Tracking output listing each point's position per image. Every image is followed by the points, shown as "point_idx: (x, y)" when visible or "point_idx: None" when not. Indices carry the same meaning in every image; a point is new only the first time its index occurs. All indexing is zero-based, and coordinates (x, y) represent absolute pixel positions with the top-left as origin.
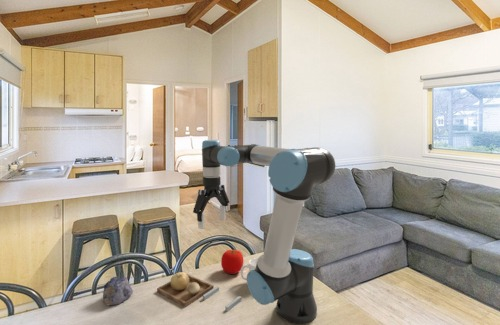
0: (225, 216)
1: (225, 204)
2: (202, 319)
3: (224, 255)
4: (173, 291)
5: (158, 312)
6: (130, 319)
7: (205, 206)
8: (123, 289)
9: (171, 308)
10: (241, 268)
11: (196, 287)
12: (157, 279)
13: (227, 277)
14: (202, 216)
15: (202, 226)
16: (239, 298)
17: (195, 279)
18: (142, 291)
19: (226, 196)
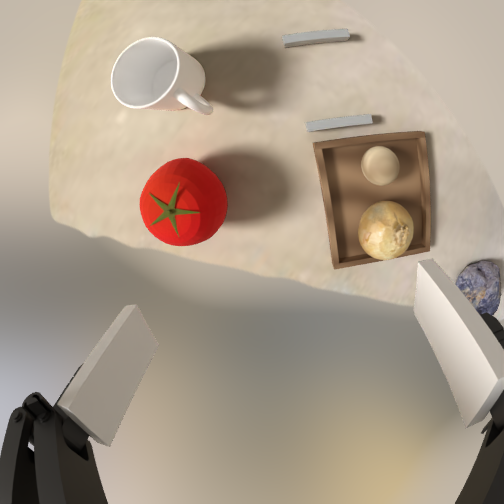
0: (110, 326)
1: (47, 419)
2: (408, 63)
3: (208, 220)
4: None
5: (462, 170)
6: (496, 196)
7: (493, 490)
8: (486, 278)
9: (439, 159)
10: (204, 107)
11: (384, 150)
12: (386, 299)
13: (231, 173)
14: (500, 349)
15: (443, 277)
16: (292, 34)
17: (333, 218)
18: None
19: (3, 478)
